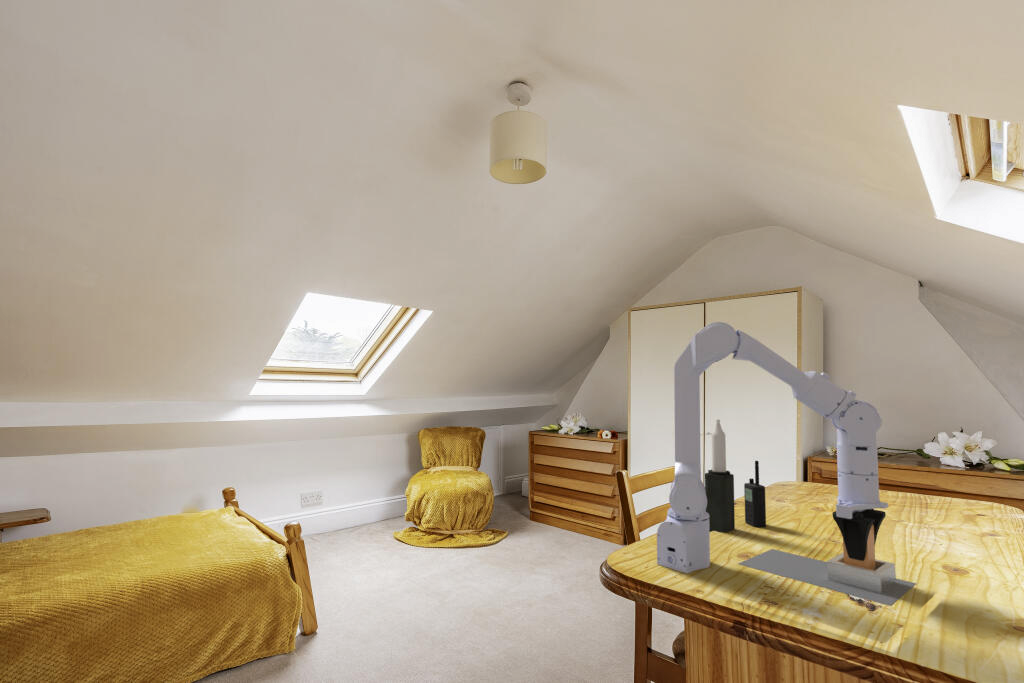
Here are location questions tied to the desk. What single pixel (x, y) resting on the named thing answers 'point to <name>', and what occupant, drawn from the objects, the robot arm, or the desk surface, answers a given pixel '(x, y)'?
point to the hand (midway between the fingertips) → (860, 556)
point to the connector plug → (870, 553)
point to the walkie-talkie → (755, 501)
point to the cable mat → (819, 575)
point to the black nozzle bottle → (719, 486)
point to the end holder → (862, 574)
